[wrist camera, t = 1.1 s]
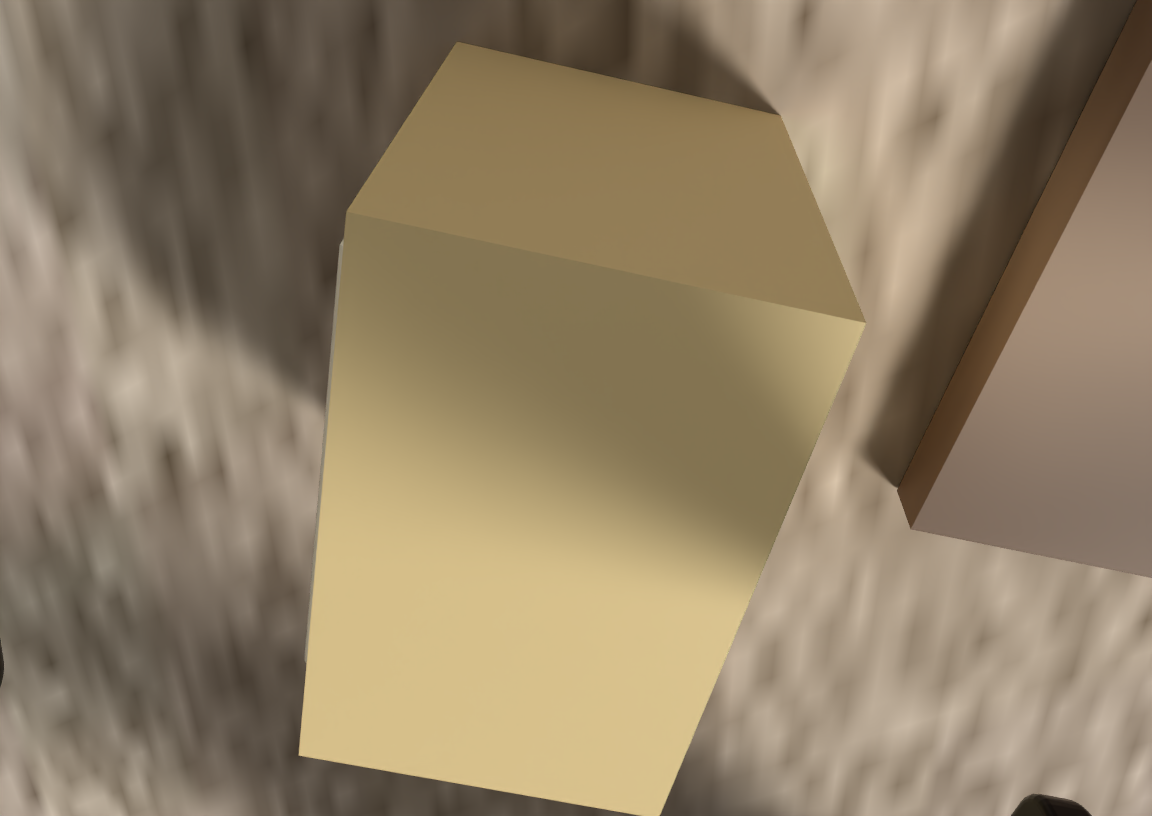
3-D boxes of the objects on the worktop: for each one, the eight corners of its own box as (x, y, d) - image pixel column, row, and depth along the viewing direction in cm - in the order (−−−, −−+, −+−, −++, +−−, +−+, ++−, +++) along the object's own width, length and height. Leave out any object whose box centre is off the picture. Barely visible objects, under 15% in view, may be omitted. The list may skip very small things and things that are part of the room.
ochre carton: (779, 113, 13) (866, 323, 8) (651, 510, 17) (658, 819, 12) (442, 37, 13) (321, 206, 8) (387, 457, 17) (282, 752, 12)
